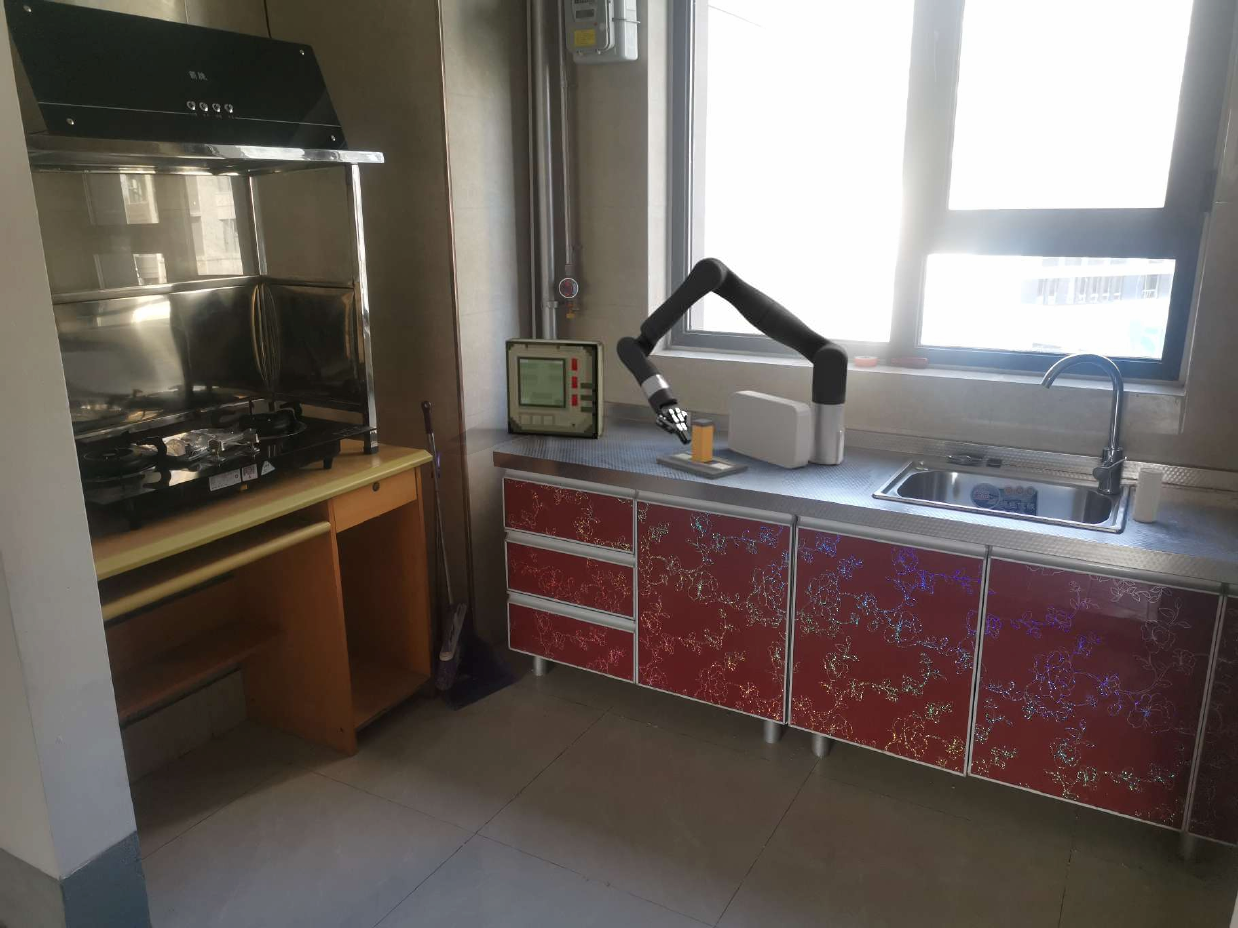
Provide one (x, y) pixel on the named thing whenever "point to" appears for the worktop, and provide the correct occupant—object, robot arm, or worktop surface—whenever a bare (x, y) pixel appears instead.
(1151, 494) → the beverage can
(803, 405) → the rounded white slab
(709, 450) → the handle
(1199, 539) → the worktop surface
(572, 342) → the control panel
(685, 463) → the plate
